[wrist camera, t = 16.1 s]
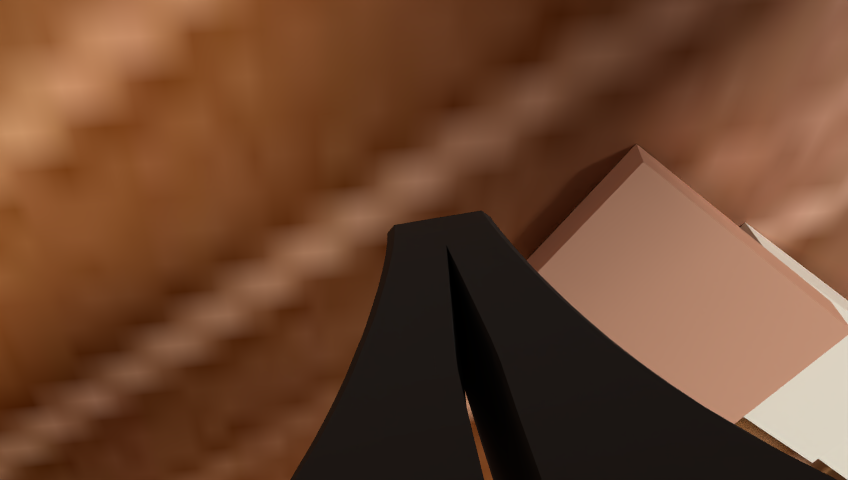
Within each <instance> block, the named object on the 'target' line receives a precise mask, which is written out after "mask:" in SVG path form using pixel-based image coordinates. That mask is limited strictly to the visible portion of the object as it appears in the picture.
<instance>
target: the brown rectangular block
mask: <svg viewBox="0 0 848 480" xmlns="http://www.w3.org/2000/svg"><path fill="white" fill-rule="evenodd" d="M527 262H528V263H529V264H530V265H531V266H532V267H533V268H534V269H535V270H536V271H537V272H538V273H539V274H540V275H541V276H542V277H543V278H544V279H545V280H546V281H547V282H548V283H549V284H550V285H551V286H552V287H553V288H554V289H555V290H556V291H557V292H558V293H559V294H560V295H561V296H562V297H563V298H564V299H565V300H566V301H568V302H569V303H570V304H571V305H572V306H573V307H574V308H575V309H576V310H577V311H579V312H580V313H581V314H582V315H583V316H584V317H585V318H586V319H588V320H589V321H590V322H591V323H592V324H593V325H595V326H596V327H597V328H598V329H599V330H600V331H602V332H603V333H604V334H605V335H606V336H607V337H609V338H610V339H611V340H612V341H614V342H615V343H616V344H617V345H619V346H620V347H621V348H622V349H624V350H625V351H626V352H627V353H629V354H630V355H631V356H633V357H634V358H635V359H636V360H638V361H639V362H640V363H642V364H643V365H645V366H646V367H647V368H649V369H650V370H652V371H653V372H654V373H656V374H657V375H658V376H660V377H661V378H663V379H664V380H665V381H667V382H668V383H670V384H671V385H673V386H674V387H676V388H677V389H679V390H680V391H682V392H683V393H685V394H686V395H688V396H689V397H691V398H692V399H694V400H695V401H697V402H698V403H700V404H701V405H703V406H704V407H706V408H708V409H709V410H711V411H713V412H714V413H716V414H718V415H720V416H721V417H723V418H725V419H726V420H728V421H730V422H732V423H733V424H735V423H736V422H738V421H739V420H740V419H741V418H743V417H744V416H745V415H746V414H748V413H749V412H750V411H752V410H753V409H754V408H755V407H757V406H758V405H759V404H761V403H762V402H763V401H764V400H766V399H767V398H768V397H769V396H771V395H772V394H773V393H775V392H776V391H777V390H778V389H780V388H781V387H782V386H783V385H785V384H786V383H787V382H789V381H790V380H791V379H792V378H794V377H795V376H796V375H798V374H799V373H800V372H801V371H803V370H804V369H805V368H806V367H808V366H809V365H810V364H812V363H813V362H814V361H815V360H817V359H818V358H819V357H821V356H822V355H823V354H824V353H826V352H827V351H828V350H829V349H831V348H832V347H833V346H835V345H836V344H837V343H838V342H840V341H841V340H842V339H843V338H845V337H846V336H847V335H848V324H847V322H846V321H845V320H844V318H843V317H842V316H841V314H840V313H839V312H838V310H837V309H836V308H835V306H834V305H833V304H832V302H831V301H830V300H828V299H827V298H826V297H825V296H824V295H822V294H821V293H820V292H819V291H817V290H816V289H815V288H814V287H812V286H811V285H810V284H809V283H807V282H806V281H805V280H804V279H803V278H801V277H800V276H799V275H798V274H796V273H795V272H794V271H793V270H791V269H790V268H789V267H788V266H787V265H785V264H784V263H783V262H782V261H780V260H779V259H778V258H777V257H775V256H774V255H773V254H772V253H771V252H769V251H768V250H767V249H766V248H764V247H763V246H762V245H761V244H759V243H758V242H757V241H756V240H754V239H753V238H752V237H751V236H750V235H748V234H747V233H746V232H745V231H743V230H742V229H741V228H740V227H738V226H737V225H736V224H735V223H734V222H732V221H731V220H730V219H729V218H727V217H726V216H725V215H724V214H722V213H721V212H720V211H719V210H717V209H716V208H715V207H714V206H713V205H711V204H710V203H709V202H708V201H706V200H705V199H704V198H703V197H701V196H700V195H699V194H698V193H697V192H695V191H694V190H693V189H692V188H690V187H689V186H688V185H687V184H685V183H684V182H683V181H682V180H681V179H679V178H678V177H677V176H676V175H674V174H673V173H672V172H671V171H669V170H668V169H667V168H666V167H664V166H663V165H662V164H661V163H660V162H658V161H657V160H656V159H655V158H653V157H652V156H651V155H650V154H648V153H647V152H646V151H645V150H644V149H642V148H641V147H640V146H639V145H637V144H636V145H635V146H634V147H633V148H632V149H631V150H630V151H629V152H628V153H627V154H626V155H625V156H624V157H623V158H622V159H621V161H620V162H619V163H618V164H617V165H616V166H615V167H614V168H613V169H612V170H611V171H610V172H609V173H608V174H607V175H606V176H605V178H604V179H603V180H602V181H601V182H600V183H599V184H598V185H597V186H596V187H595V188H594V189H593V190H592V191H591V192H590V193H589V195H588V196H587V197H586V198H585V199H584V200H583V201H582V202H581V203H580V204H579V205H578V206H577V207H576V208H575V209H574V210H573V212H572V213H571V214H570V215H569V216H568V217H567V218H566V219H565V220H564V221H563V222H562V223H561V224H560V225H559V226H558V227H557V229H556V230H555V231H554V232H553V233H552V234H551V235H550V236H549V237H548V238H547V239H546V240H545V241H544V242H543V243H542V244H541V246H540V247H539V248H538V249H537V250H536V251H535V252H534V253H533V254H532V255H531V256H530V257H529V258H528V259H527Z"/></svg>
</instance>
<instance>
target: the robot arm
mask: <svg viewBox="0 0 848 480" xmlns="http://www.w3.org/2000/svg"><path fill="white" fill-rule="evenodd" d="M465 392H466V395H467V398H468V401H469V405H470V408H471V411H472V414H473V417H474V420H475V424H476V427H477V430H478V433H479V436H480V440H481V443H482V446H483V449H484V452H485V455H486V458H487V462H488V465H489V468H490V471H491V474H492V477H493V480H836V479H834V478H832V477H830V476H829V475H827V474H825V473H823V472H821V471H819V470H817V469H815V468H813V467H811V466H809V465H807V464H805V463H803V462H801V461H799V460H797V459H795V458H793V457H791V456H789V455H787V454H785V453H783V452H782V451H780V450H778V449H776V448H774V447H773V446H771V445H769V444H767V443H766V442H764V441H762V440H760V439H759V438H757V437H755V436H754V435H752V434H750V433H749V432H747V431H745V430H743V429H742V428H740V427H738V426H737V425H735V424H733V423H732V422H730V421H728V420H726V419H725V418H723V417H721V416H720V415H718V414H716V413H714V412H713V411H711V410H709V409H708V408H706V407H704V406H703V405H701V404H700V403H698V402H697V401H695V400H694V399H692V398H691V397H689V396H688V395H686V394H685V393H683V392H682V391H680V390H679V389H677V388H676V387H674V386H673V385H671V384H670V383H668V382H667V381H665V380H664V379H663V378H661V377H660V376H658V375H657V374H656V373H654V372H653V371H652V370H650V369H649V368H647V367H646V366H645V365H643V364H642V363H640V362H639V361H638V360H636V359H635V358H634V357H633V356H631V355H630V354H629V353H627V352H626V351H625V350H624V349H622V348H621V347H620V346H619V345H617V344H616V343H615V342H614V341H612V340H611V339H610V338H609V337H607V336H606V335H605V334H604V333H603V332H602V331H600V330H599V329H598V328H597V327H596V326H595V325H593V324H592V323H591V322H590V321H589V320H588V319H586V318H585V317H584V316H583V315H582V314H581V313H580V312H579V311H577V310H576V309H575V308H574V307H573V306H572V305H571V304H570V303H569V302H568V301H566V300H565V299H564V298H563V297H562V296H561V295H560V294H559V293H558V292H557V291H556V290H555V289H554V288H553V287H552V286H551V285H550V284H549V283H548V282H547V281H546V280H545V279H544V278H543V277H542V276H541V275H540V274H539V273H538V272H537V271H536V270H535V269H534V268H533V267H532V266H531V265H530V264H529V263H528V262H527V260H526V259H525V258H524V257H523V256H522V255H521V254H520V253H519V252H518V251H517V249H516V248H515V247H514V246H513V245H512V244H511V243H510V241H509V240H508V239H507V238H506V237H505V235H504V234H503V233H502V232H501V231H500V229H499V228H498V227H497V226H496V224H495V223H494V222H493V220H492V219H491V217H490V216H488V215H487V214H486V213H484V212H483V211H476V212H470V213H464V214H458V215H452V216H446V217H440V218H434V219H428V220H422V221H416V222H410V223H404V224H398V225H394V226H393V227H392V229H391V230H390V231H389V232H388V238H387V250H386V256H385V262H384V266H383V271H382V275H381V279H380V282H379V286H378V290H377V293H376V296H375V299H374V303H373V306H372V309H371V312H370V315H369V318H368V321H367V324H366V327H365V330H364V333H363V335H362V338H361V340H360V343H359V345H358V348H357V350H356V352H355V355H354V357H353V360H352V362H351V365H350V367H349V369H348V372H347V374H346V377H345V379H344V381H343V383H342V386H341V388H340V390H339V392H338V394H337V396H336V398H335V400H334V402H333V404H332V406H331V408H330V410H329V412H328V414H327V416H326V418H325V420H324V422H323V424H322V426H321V428H320V430H319V431H318V433H317V435H316V437H315V439H314V441H313V442H312V444H311V446H310V448H309V449H308V451H307V453H306V454H305V456H304V458H303V459H302V461H301V463H300V465H299V466H298V468H297V470H296V471H295V473H294V475H293V476H292V478H291V480H484V478H483V474H482V469H481V465H480V461H479V457H478V453H477V449H476V445H475V441H474V437H473V432H472V428H471V424H470V420H469V416H468V411H467V407H466V397H465Z"/></svg>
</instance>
